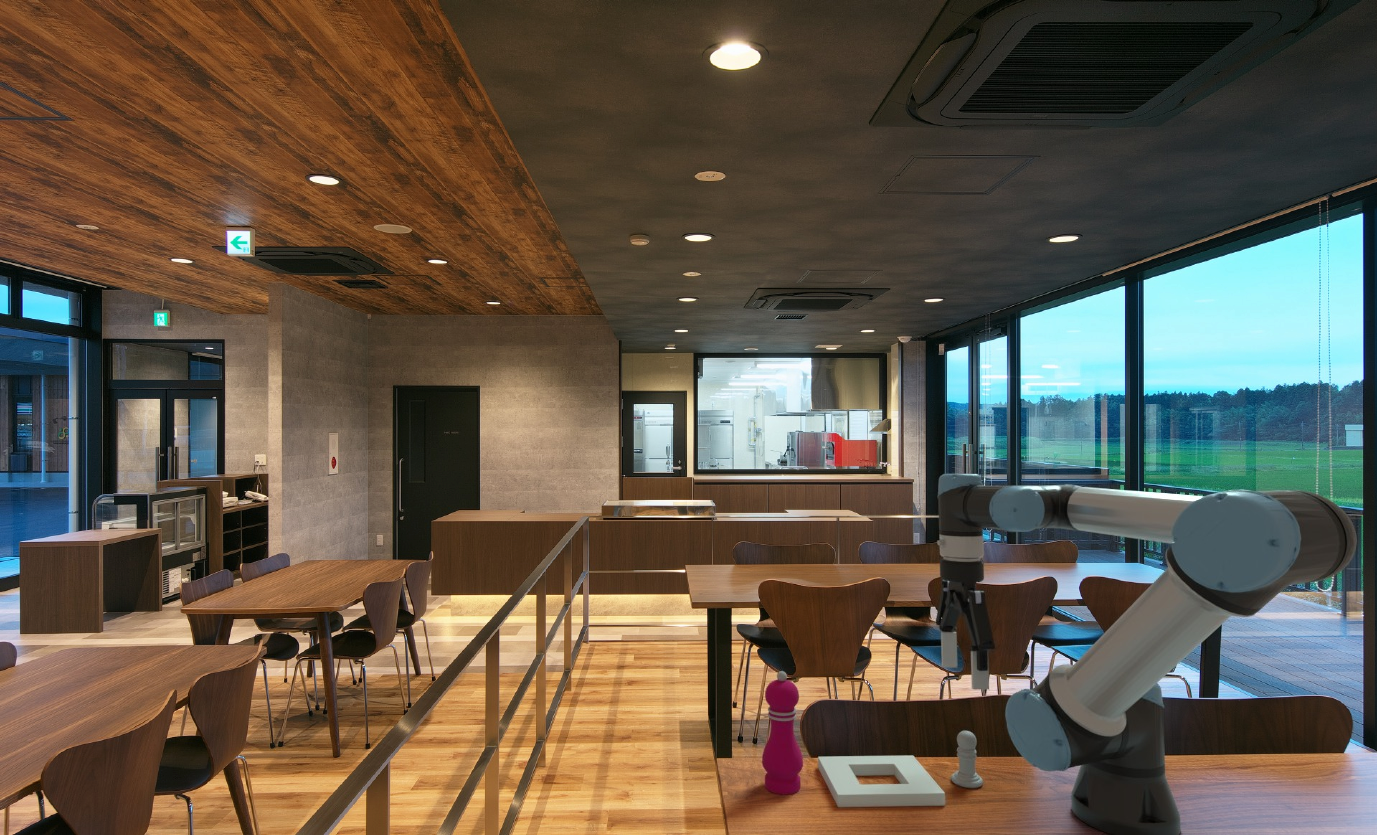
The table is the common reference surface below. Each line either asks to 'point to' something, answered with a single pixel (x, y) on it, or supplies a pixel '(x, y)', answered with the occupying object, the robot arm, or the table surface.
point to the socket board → (850, 793)
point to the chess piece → (966, 761)
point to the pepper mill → (782, 738)
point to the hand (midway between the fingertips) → (964, 677)
